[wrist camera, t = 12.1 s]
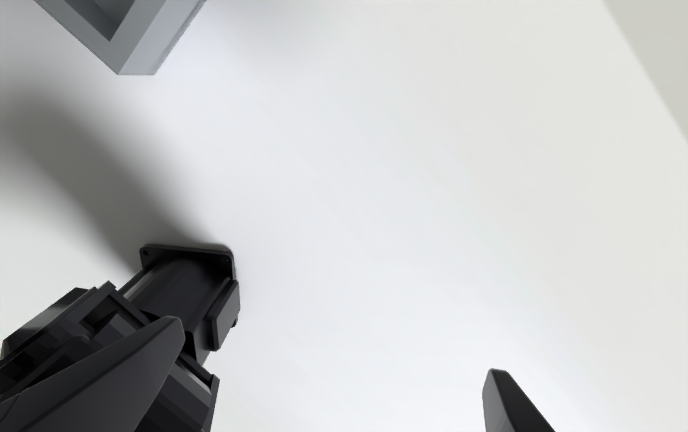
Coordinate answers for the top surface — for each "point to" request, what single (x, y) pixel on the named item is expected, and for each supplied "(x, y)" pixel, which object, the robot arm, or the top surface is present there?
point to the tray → (126, 29)
